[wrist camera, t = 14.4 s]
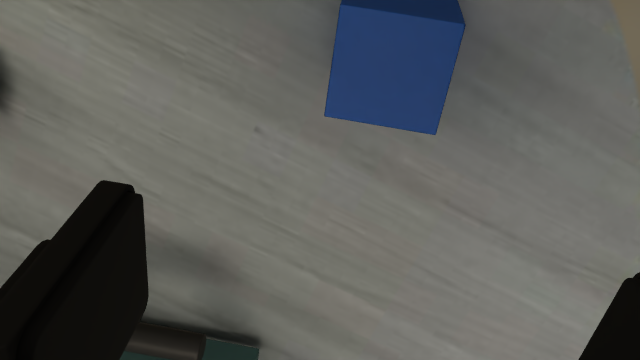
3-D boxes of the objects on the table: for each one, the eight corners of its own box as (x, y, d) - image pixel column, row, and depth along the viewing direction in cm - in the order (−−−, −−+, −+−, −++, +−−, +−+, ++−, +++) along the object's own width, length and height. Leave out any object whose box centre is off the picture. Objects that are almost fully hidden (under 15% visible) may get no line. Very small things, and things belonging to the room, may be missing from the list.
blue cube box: (455, -8, 23) (466, 24, 19) (430, 90, 25) (435, 135, 22) (349, -25, 23) (340, 3, 19) (335, 74, 25) (323, 116, 22)
